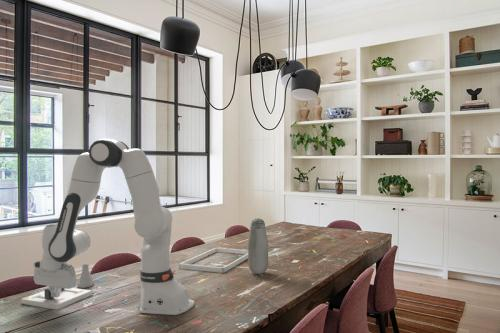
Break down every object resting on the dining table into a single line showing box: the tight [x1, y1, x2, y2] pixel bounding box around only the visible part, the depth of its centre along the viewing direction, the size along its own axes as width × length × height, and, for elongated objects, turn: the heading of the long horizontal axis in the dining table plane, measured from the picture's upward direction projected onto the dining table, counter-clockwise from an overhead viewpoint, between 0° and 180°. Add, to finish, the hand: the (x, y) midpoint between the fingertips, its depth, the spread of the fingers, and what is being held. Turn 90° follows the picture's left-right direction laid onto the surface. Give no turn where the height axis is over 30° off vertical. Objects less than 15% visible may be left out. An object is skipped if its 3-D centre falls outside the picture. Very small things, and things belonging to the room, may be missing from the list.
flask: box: [76, 263, 95, 289], centre depth 180 cm, size 7×7×10 cm
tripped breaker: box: [43, 287, 54, 299], centre depth 157 cm, size 2×3×4 cm
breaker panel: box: [21, 287, 93, 311], centre depth 162 cm, size 20×18×2 cm
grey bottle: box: [247, 217, 269, 275], centre depth 194 cm, size 10×10×28 cm
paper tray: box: [178, 247, 248, 274], centre depth 221 cm, size 27×42×2 cm, turn 157°
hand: (55, 296), depth 156 cm, fingers closed
